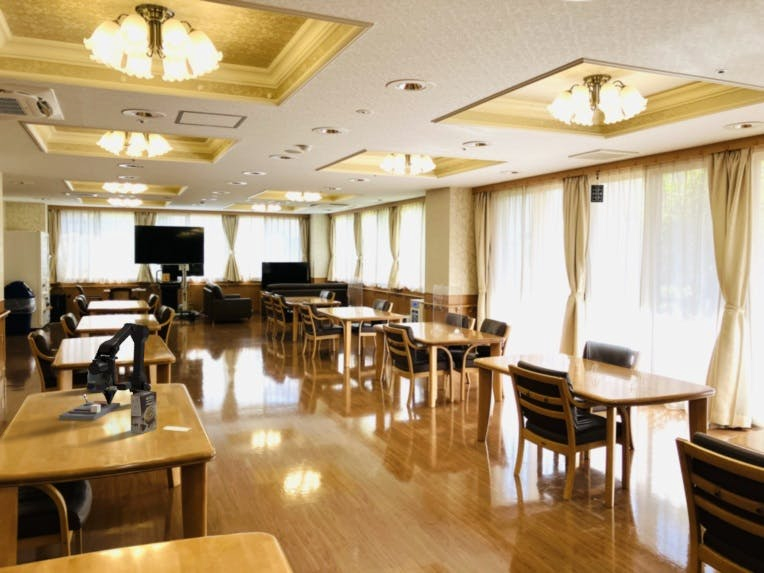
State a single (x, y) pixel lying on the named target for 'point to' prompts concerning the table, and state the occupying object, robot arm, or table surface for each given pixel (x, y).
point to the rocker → (100, 401)
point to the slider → (96, 408)
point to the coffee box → (143, 412)
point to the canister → (93, 378)
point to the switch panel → (88, 411)
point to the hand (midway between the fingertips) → (109, 404)
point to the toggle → (85, 398)
